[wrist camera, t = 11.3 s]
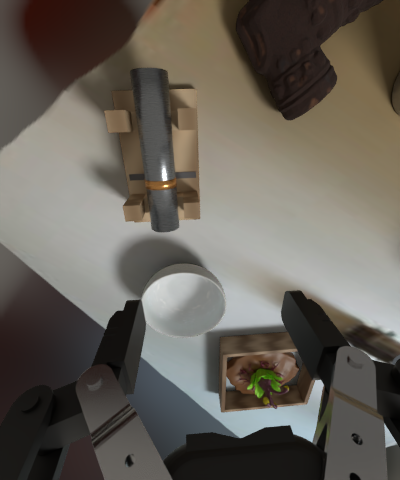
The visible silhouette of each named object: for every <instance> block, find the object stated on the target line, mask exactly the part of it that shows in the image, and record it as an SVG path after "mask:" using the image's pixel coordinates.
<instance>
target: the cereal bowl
mask: <svg viewBox="0 0 400 480" xmlns="http://www.w3.org/2000/svg"><path fill="white" fill-rule="evenodd" d="M141 300H142V304H143V309H144V315H145V321H146V322H147V324H148V325H149V326H150V327H152V328H153V329H154V330H156V331H157V332H159V333H161V334H164V335H167V336H171V337H177V338H187V337H194V336H198V335H201V334H204V333H206V332H208V331H210V330H211V329H213V328H214V327H215V326H217V325H218V324H219V322H220V321H221V320H222V318H223V316H224V314H225V311H226V298H225V293H224V290H223V288H222V285H221V284H220V282H219V280H218V279H217V278H216V277H215V276H214V274H212V273H211V272H210V271H208V270H207V269H205V268H203V267H200V266H197V265H194V264H182V263H181V264H175V265H171V266H168V267H165V268H163V269H161V270H160V271H158V272H157V273H156V274H154V275H153V276H152V277H151V279H150V280H149V281H148V283H147V284H146V286H145V288H144V290H143V293H142V296H141Z"/></svg>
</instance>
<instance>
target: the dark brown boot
mask: <svg viewBox="0 0 400 480" xmlns="http://www.w3.org/2000/svg"><path fill="white" fill-rule="evenodd" d="M381 1H383V0H249V2H248V3H247V4H246V5H245V6H244V7H243V8H242V9H241V10H240V12H239V14H238V18H237V23H236V31H237V33H238V35H239V37H240V39H241V41H242V44H243V46H244V48H245V50H246V52H247V54H248V56H249V58H250V61H251V63H252V65H253V68H254V69H255V71H256V72H257V73H260V74H263V75H264V76H265V78H266V79H267V81H268V86H269V88H270V90H271V94H272V96H273V98H275V101H276V106H277V107H278V108H279V109H278V111H279V112H281V113H282V115H283V117H284V118H285V119H286V120H293V119H295V118H297V117H299V116H301V115H303V114H304V113H306V112H307V111H309V110H310V109H311V108H313V107H314V106H315V105H317V104H318V103H319V102H320V101H321V100H322V99H323V98H324V97H325V96H326V95H327V94H328V93H329V92H330V91H331V90H332V89H333V87H334V86H335V84H336V81H337V75H336V73H335V71H334V68H333V66H332V65H330V61H329V60H328V59H327V57H326V56H325V54H324V53H323V51H322V50H321V48H320V45H321V44H322V43H324V42H325V41H326V40H327V39H328V38H329V37H330V36H331V35H332V34H333V33H334V32H336V31H337V30H338V29H339V27H341V26H344V25H346V24H347V23H351V22H353V21H354V20H355V19H356V18H357V17H358V15H359V13H360V12H363V11H366V10H368V9H369V8H371V7H372V6H374V5H377V4H379V3H380V2H381Z"/></svg>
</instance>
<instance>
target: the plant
mask: <svg viewBox="0 0 400 480" xmlns="http://www.w3.org/2000/svg"><path fill="white" fill-rule="evenodd" d="M299 370H300V369H299V366H298V364H297V363H296V359H295V357H294V355H293V353H291V352H284V353H272V354H260V355H248V356H236V357H233V358H232V359H231V360H230V361H228V362H227V370H226V376H227V377H228V379H229V380H230V383H231V384H232V385H234V386H235V389H236V390H240V391H241V393H243V394H252V395H257V397H258V398H260V397H261V396H262V395H263V394H265V395H266V396H267V398H266V397H264V398H263V403H264V404H265V405H266V406H268V407H269V408H270V407H271V404H272V406H273V408H275V409H277V404H276V403H275V402H273V400H272V398H271V395H272V393H275V394H278V395H281V394H284V393H287V392H288V391H289V387H288V385H285V386H284V391H282V392H280V391H281V390H280V388H279V387H281V386H282V385H284V384H285V383H287V382H289V381H290V380H291V379H292V378H294V377H295V376H296V374H297V372H298V371H299Z"/></svg>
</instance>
